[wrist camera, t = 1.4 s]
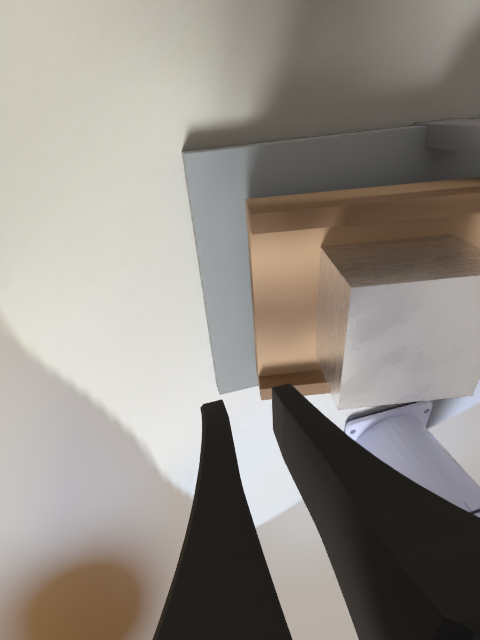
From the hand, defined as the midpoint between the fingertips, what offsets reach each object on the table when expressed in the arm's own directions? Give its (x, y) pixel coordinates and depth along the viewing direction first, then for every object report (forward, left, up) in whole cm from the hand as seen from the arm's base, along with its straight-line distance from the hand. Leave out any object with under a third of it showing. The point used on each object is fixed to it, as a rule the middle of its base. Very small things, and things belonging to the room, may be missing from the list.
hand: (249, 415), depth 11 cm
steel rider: (0, -8, -5) cm, 9 cm away
